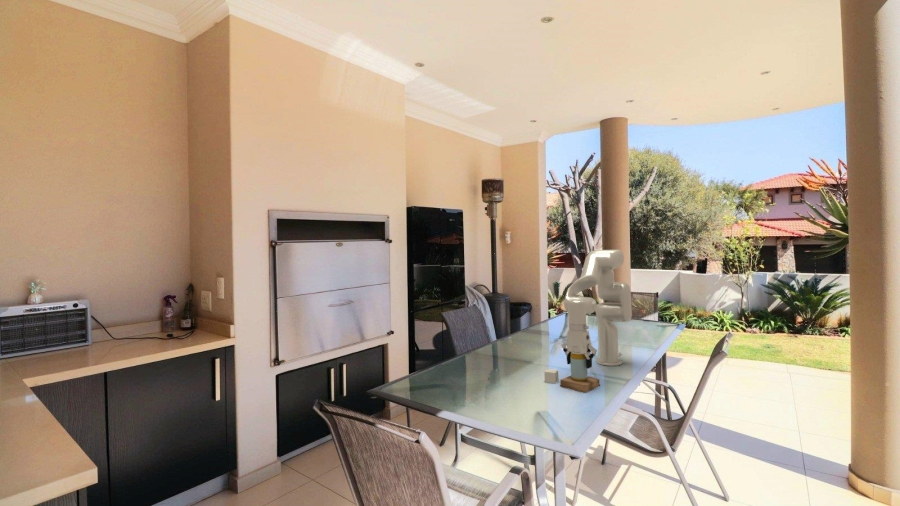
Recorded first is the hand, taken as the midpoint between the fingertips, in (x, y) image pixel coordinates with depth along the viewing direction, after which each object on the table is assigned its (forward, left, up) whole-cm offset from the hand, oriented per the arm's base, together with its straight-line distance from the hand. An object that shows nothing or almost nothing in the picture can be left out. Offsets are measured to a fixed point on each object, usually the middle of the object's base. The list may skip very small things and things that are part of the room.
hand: (579, 365), depth 183 cm
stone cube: (+3, -13, -9) cm, 16 cm away
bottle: (0, 0, -6) cm, 6 cm away
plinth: (0, 0, -9) cm, 9 cm away
